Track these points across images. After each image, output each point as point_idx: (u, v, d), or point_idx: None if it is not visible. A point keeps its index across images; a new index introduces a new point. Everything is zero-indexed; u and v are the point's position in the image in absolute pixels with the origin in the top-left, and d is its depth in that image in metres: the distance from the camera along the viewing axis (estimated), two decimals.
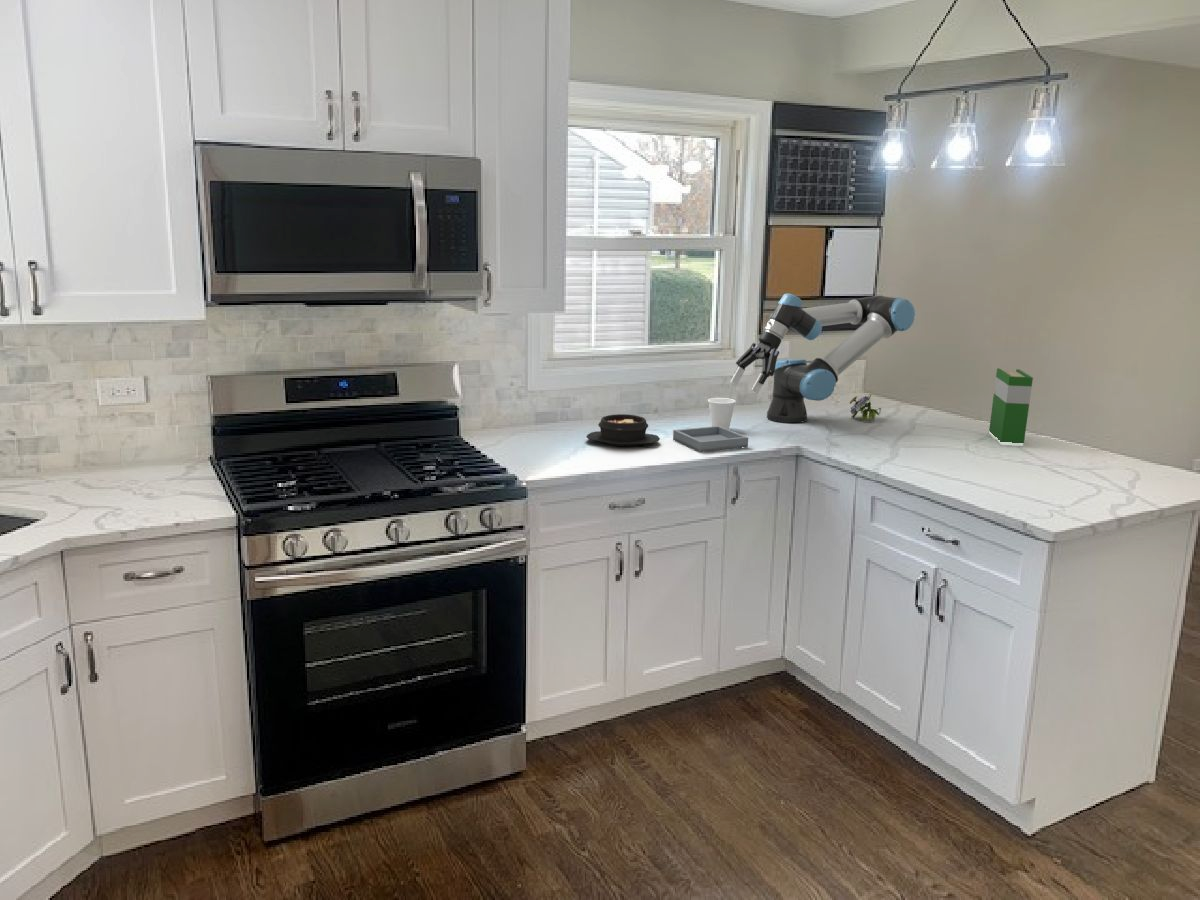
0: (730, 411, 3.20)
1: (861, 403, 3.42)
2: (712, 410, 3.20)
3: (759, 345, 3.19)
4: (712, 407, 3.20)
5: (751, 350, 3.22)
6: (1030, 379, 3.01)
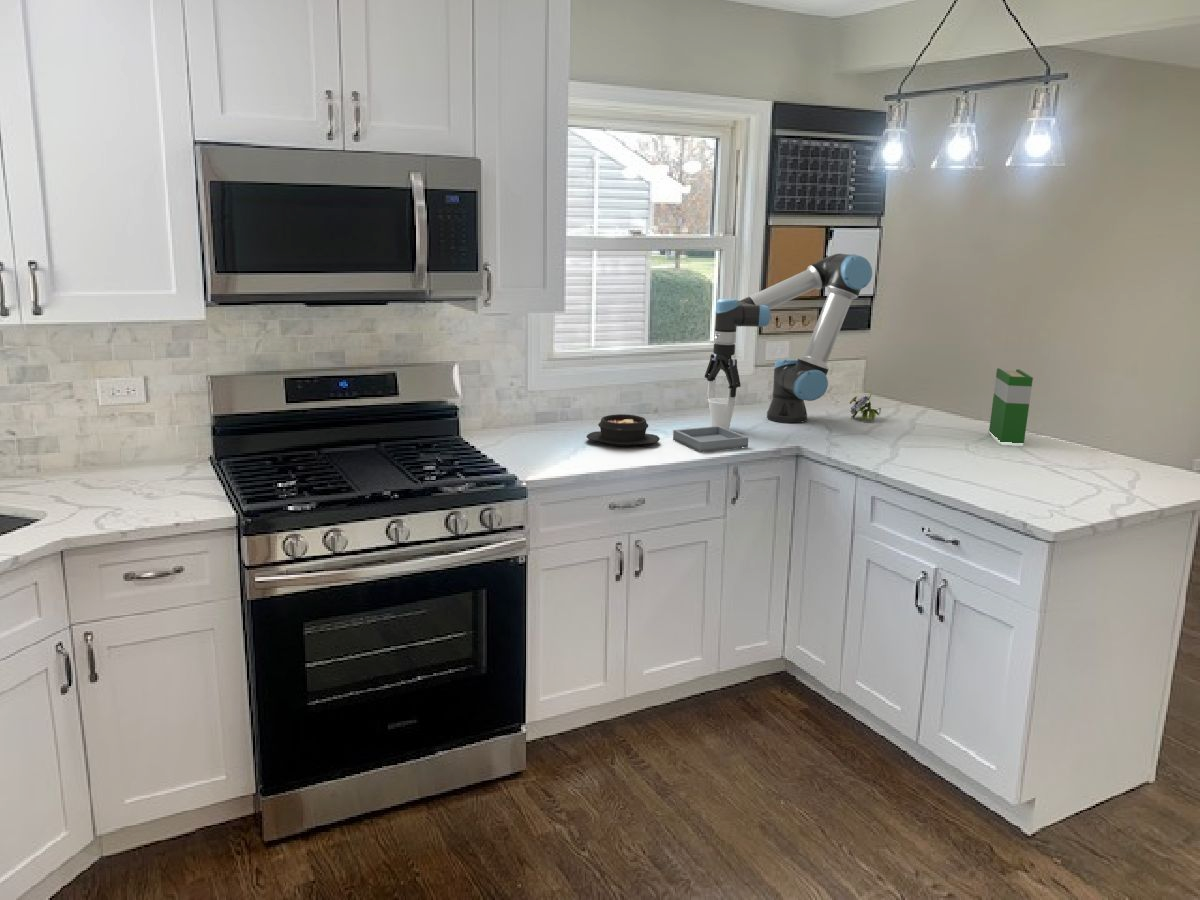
0: (730, 411, 3.20)
1: (861, 403, 3.42)
2: (712, 410, 3.20)
3: (717, 356, 3.20)
4: (712, 407, 3.20)
5: (712, 362, 3.23)
6: (1030, 379, 3.01)
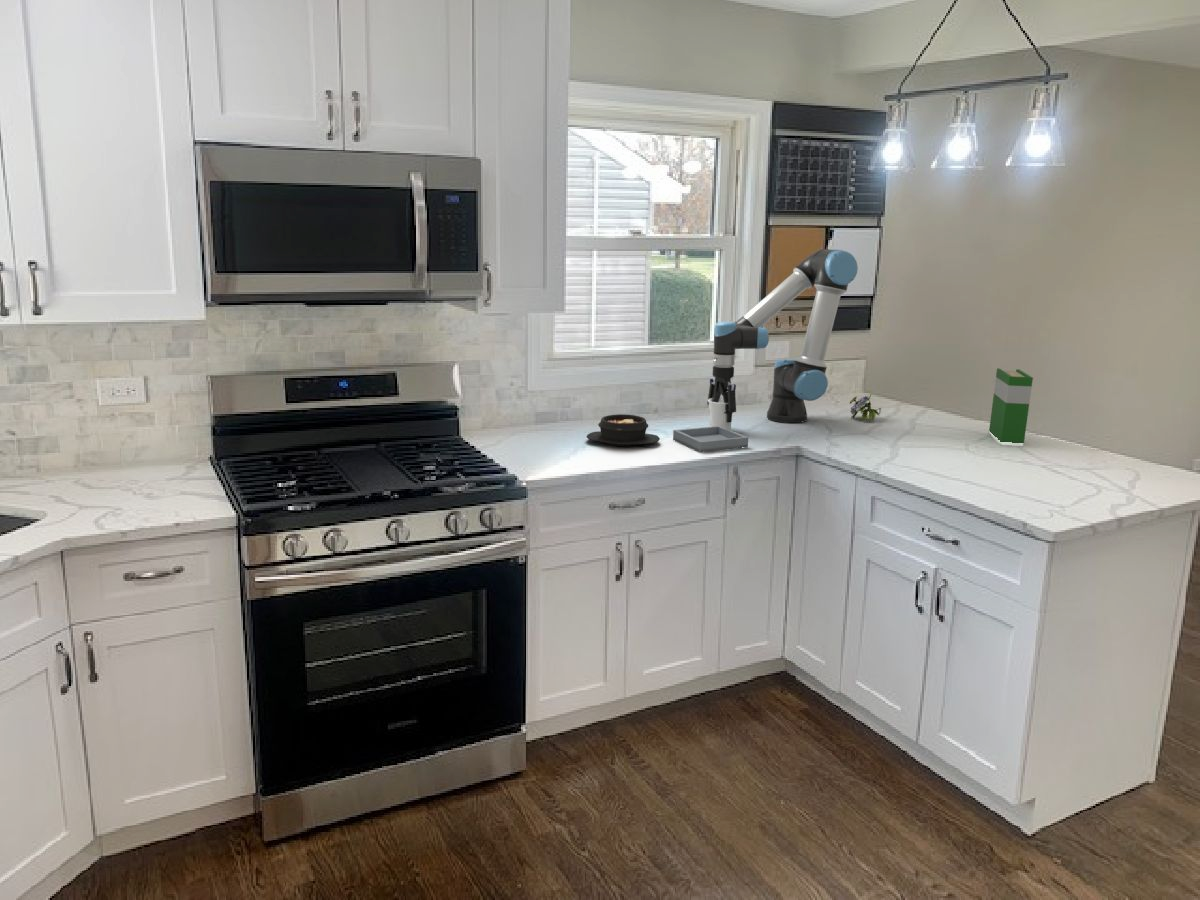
0: None
1: (861, 403, 3.42)
2: (712, 410, 3.20)
3: (716, 378, 3.22)
4: (712, 407, 3.20)
5: (712, 386, 3.25)
6: (1030, 379, 3.01)
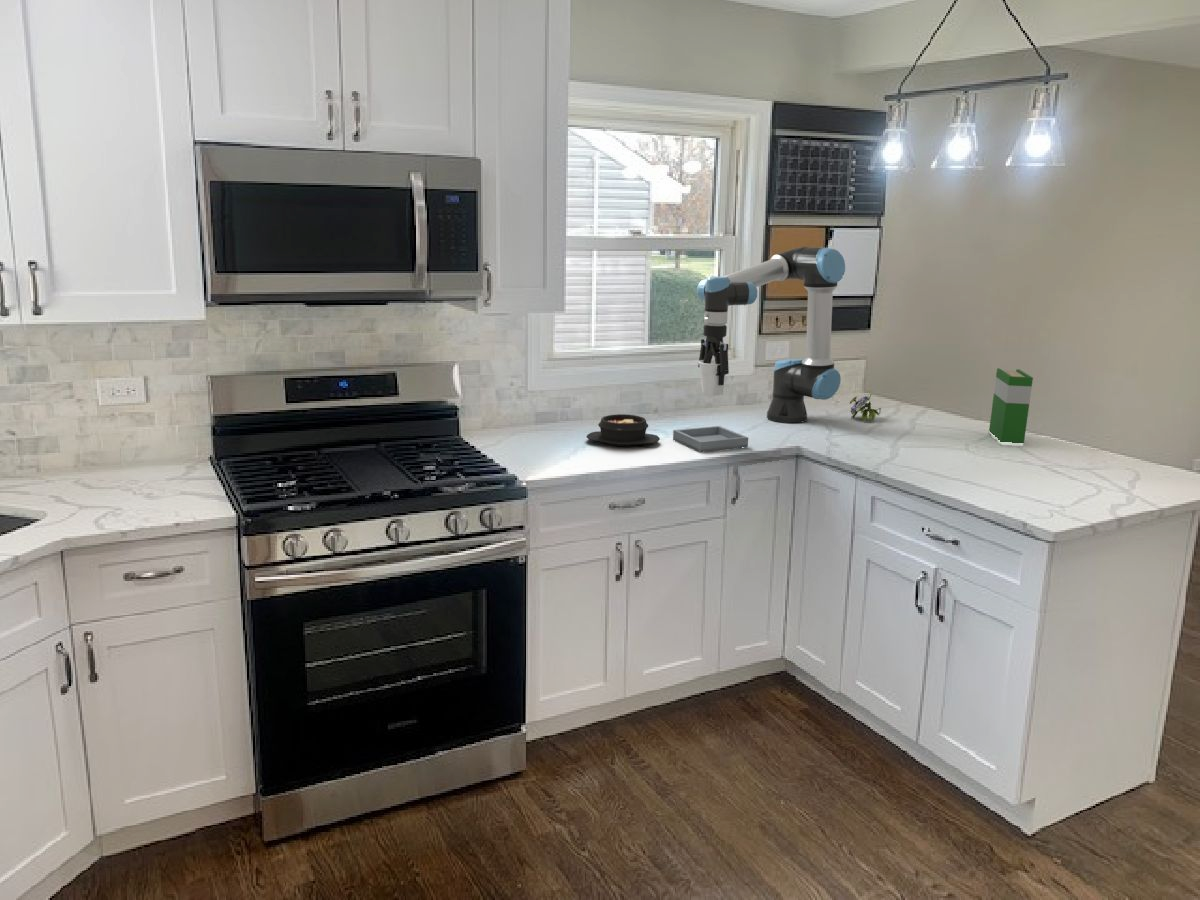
0: None
1: (861, 403, 3.42)
2: (703, 372, 2.97)
3: (707, 338, 2.98)
4: (702, 368, 2.97)
5: (704, 347, 3.02)
6: (1030, 379, 3.01)
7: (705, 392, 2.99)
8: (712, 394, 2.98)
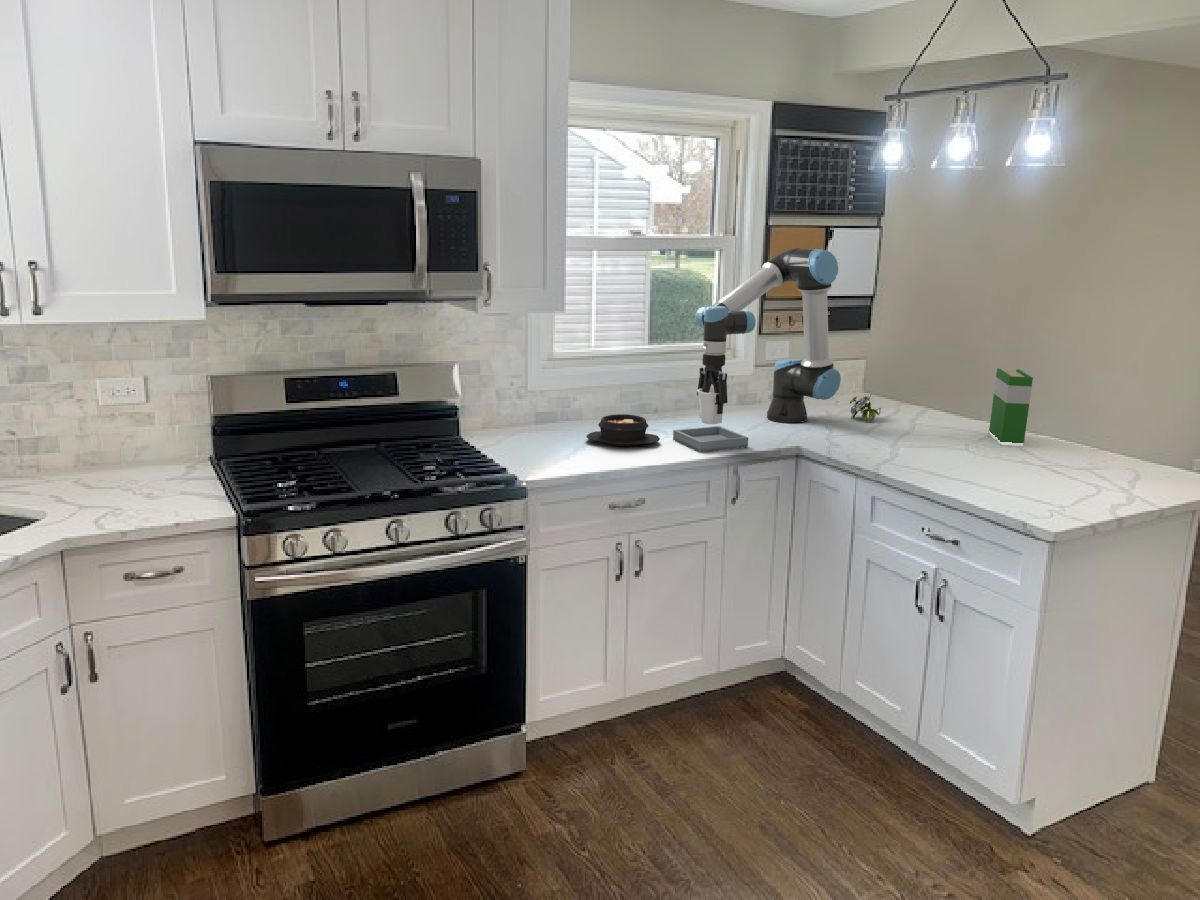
0: None
1: (861, 403, 3.42)
2: (702, 401, 2.99)
3: (706, 367, 3.00)
4: (701, 397, 2.98)
5: (702, 375, 3.04)
6: (1030, 379, 3.01)
7: (704, 421, 3.01)
8: (711, 422, 3.00)
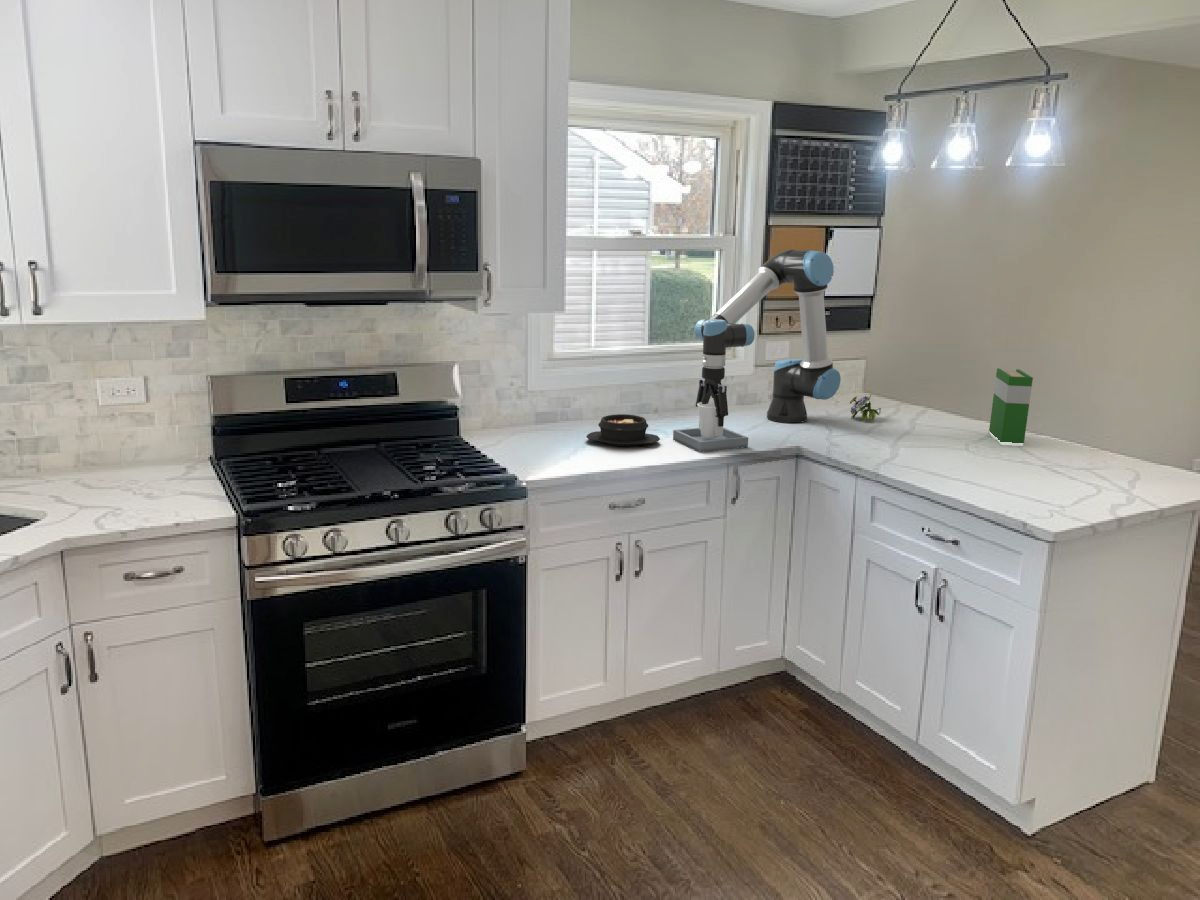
0: None
1: (861, 403, 3.42)
2: (701, 415, 3.00)
3: (705, 380, 3.01)
4: (701, 411, 2.99)
5: (702, 387, 3.05)
6: (1030, 379, 3.01)
7: (703, 434, 3.02)
8: (711, 436, 3.01)
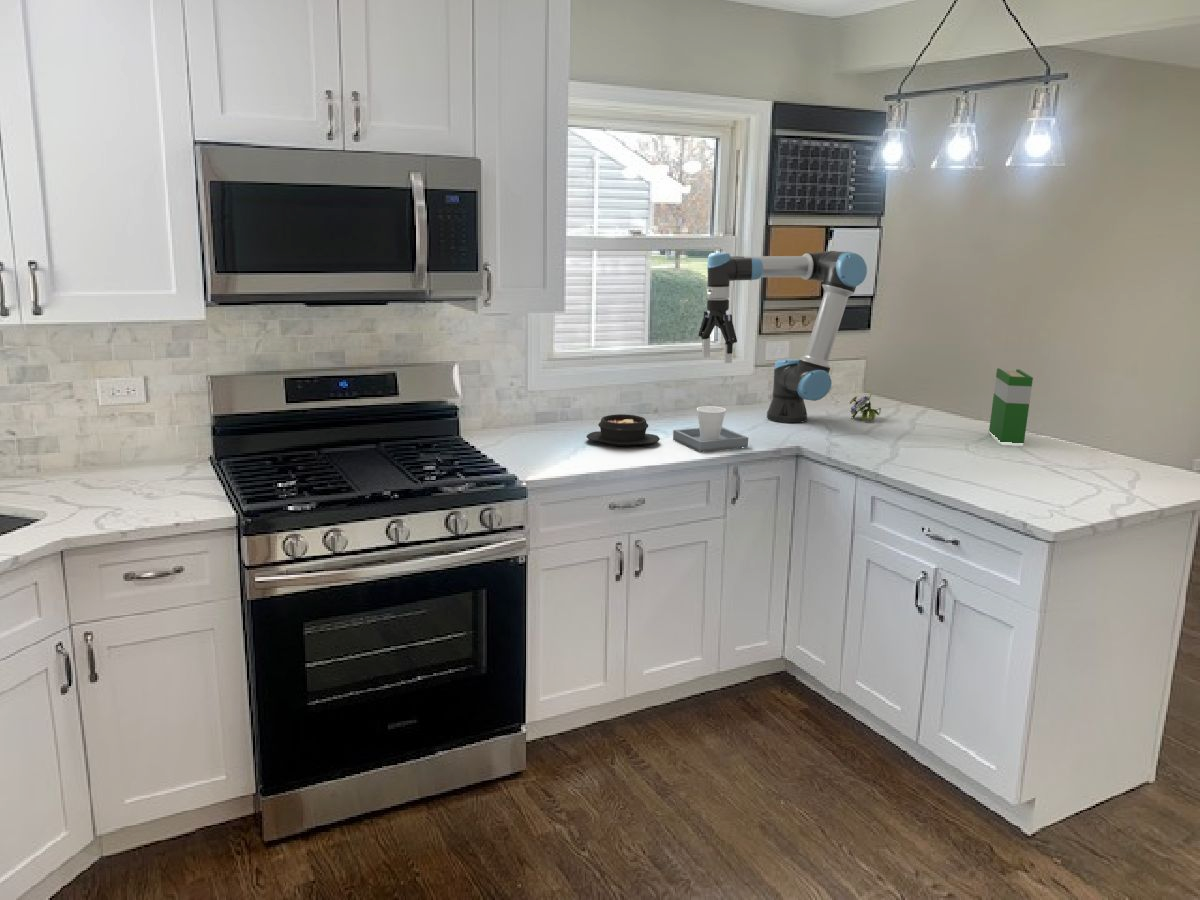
0: (720, 421, 3.00)
1: (861, 403, 3.42)
2: (701, 420, 3.00)
3: (711, 313, 3.12)
4: (700, 416, 3.00)
5: (706, 319, 3.15)
6: (1030, 379, 3.01)
7: (703, 439, 3.02)
8: None
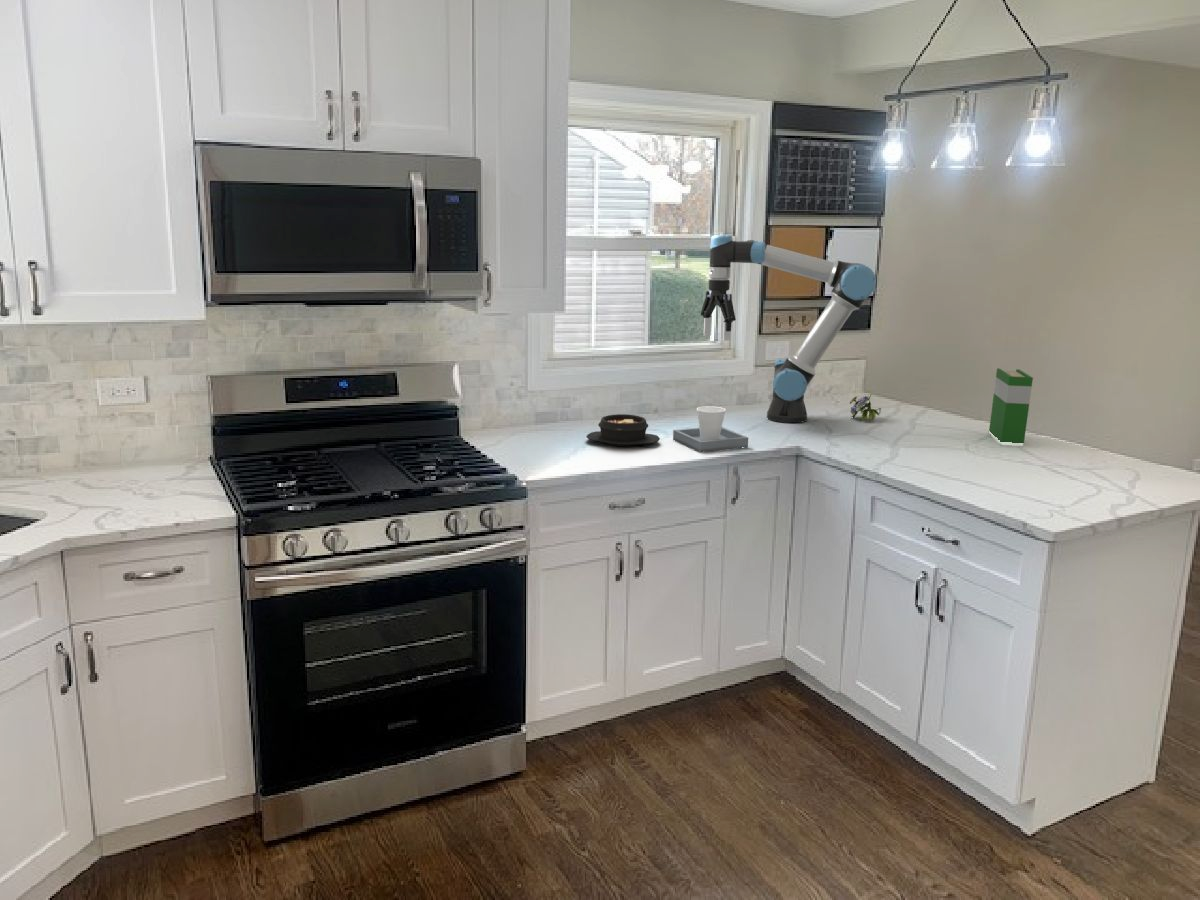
0: (720, 421, 3.00)
1: (861, 403, 3.42)
2: (701, 419, 3.00)
3: (712, 293, 3.26)
4: (700, 416, 3.00)
5: (708, 298, 3.30)
6: (1030, 379, 3.01)
7: (703, 439, 3.02)
8: None
